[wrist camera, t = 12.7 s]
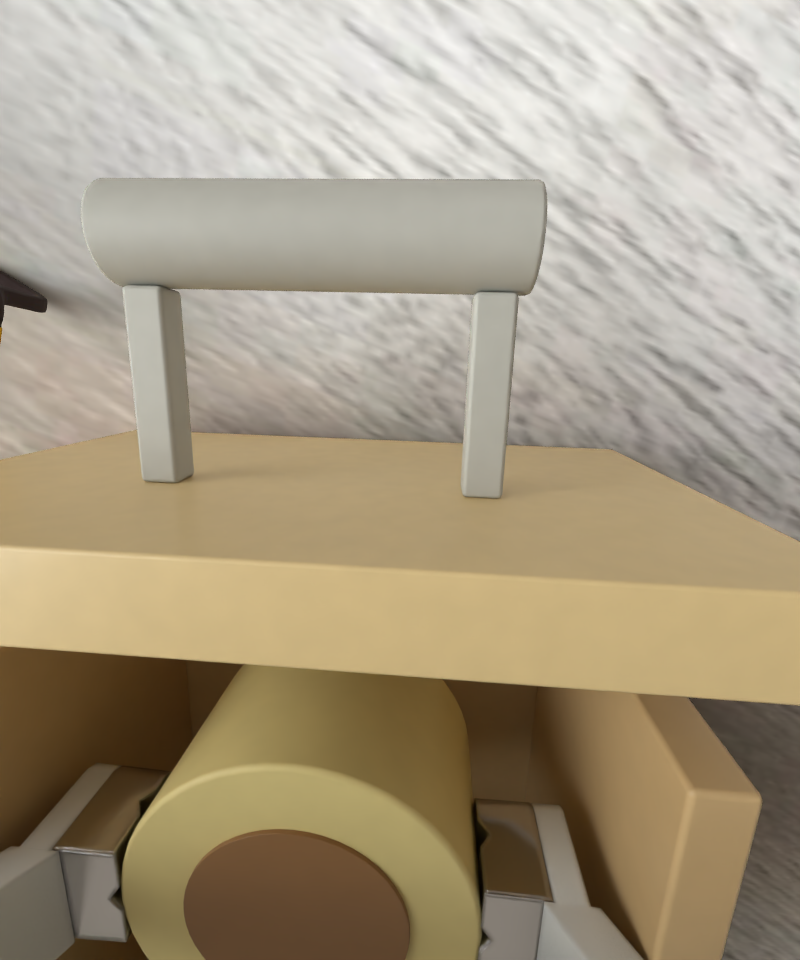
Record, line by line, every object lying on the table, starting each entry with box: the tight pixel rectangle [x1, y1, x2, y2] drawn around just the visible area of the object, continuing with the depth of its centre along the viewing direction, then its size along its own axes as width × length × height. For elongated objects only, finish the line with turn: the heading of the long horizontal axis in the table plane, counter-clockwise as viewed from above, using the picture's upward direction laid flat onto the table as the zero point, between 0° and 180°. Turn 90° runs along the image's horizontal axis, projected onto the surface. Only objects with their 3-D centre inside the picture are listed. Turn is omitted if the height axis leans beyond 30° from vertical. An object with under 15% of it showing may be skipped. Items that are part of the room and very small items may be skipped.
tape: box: [121, 664, 482, 960], centre depth 9 cm, size 6×6×4 cm
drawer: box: [0, 178, 800, 960], centre depth 10 cm, size 19×12×8 cm, turn 178°
